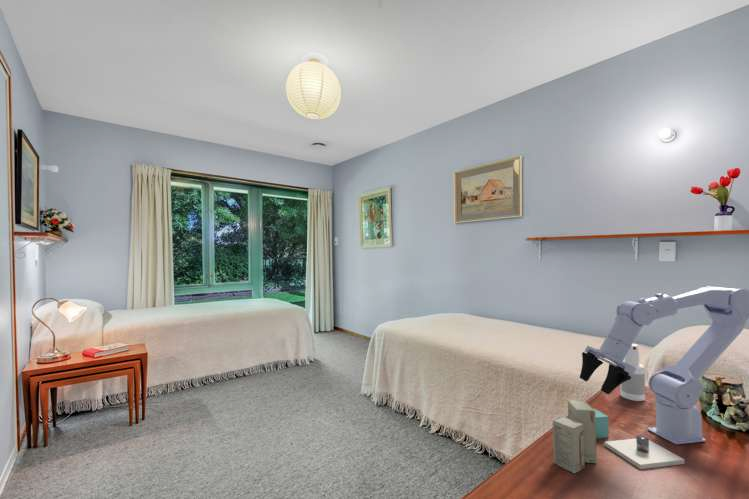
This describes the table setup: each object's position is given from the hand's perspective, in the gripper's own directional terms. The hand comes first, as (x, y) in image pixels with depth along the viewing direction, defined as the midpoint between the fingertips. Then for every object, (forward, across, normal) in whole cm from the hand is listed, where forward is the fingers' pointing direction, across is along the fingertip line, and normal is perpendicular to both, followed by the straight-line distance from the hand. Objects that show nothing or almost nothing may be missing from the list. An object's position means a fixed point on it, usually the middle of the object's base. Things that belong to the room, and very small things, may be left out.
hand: (593, 385), depth 95 cm
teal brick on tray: (+11, 0, +8) cm, 14 cm away
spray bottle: (-3, -20, +36) cm, 41 cm away
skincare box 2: (+16, +9, -2) cm, 19 cm away
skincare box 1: (+19, +12, -7) cm, 24 cm away
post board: (+8, +10, +11) cm, 17 cm away
